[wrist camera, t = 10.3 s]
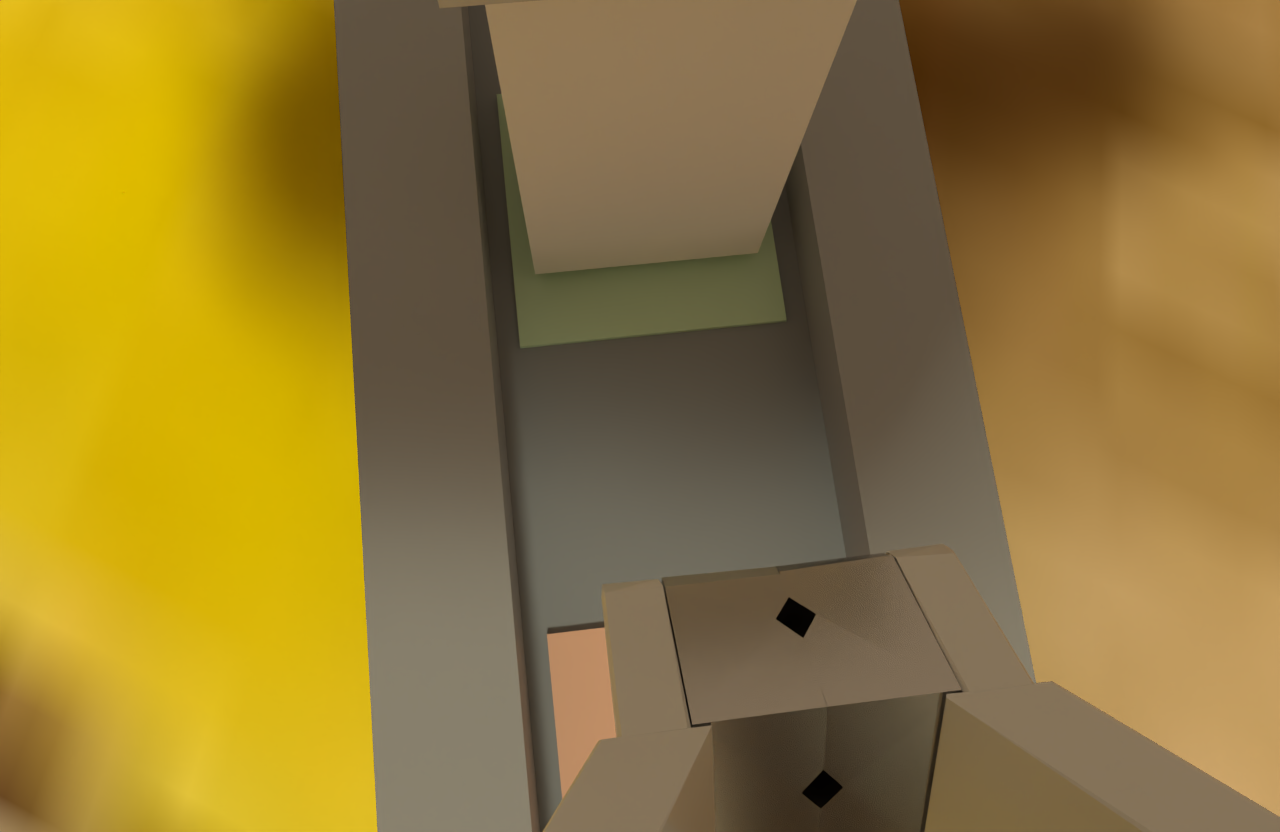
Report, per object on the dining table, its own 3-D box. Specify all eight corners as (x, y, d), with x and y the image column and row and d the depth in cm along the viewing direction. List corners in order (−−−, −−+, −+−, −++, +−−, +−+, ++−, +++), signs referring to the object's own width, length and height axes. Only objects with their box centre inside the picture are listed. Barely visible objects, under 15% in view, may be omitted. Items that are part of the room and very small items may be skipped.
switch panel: (1006, 1063, 18) (1140, 1202, 13) (454, 1146, 17) (403, 1321, 13) (817, 6, 23) (869, -148, 18) (383, 40, 22) (328, -110, 18)
